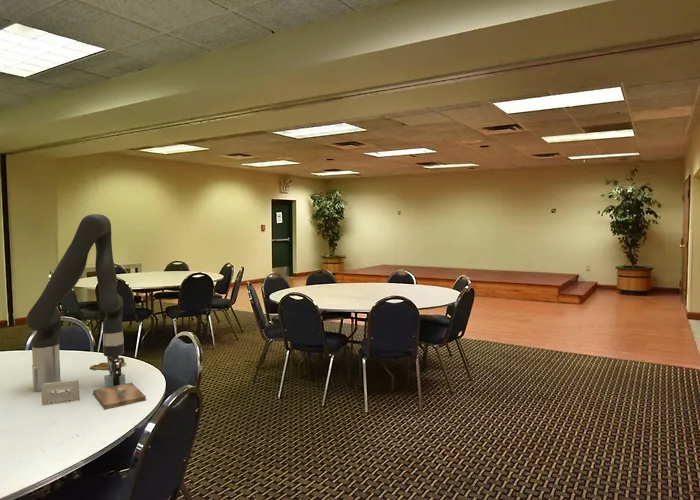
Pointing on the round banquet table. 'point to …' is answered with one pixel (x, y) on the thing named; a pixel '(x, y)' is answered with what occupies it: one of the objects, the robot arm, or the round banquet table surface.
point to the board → (114, 399)
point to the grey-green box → (109, 379)
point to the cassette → (60, 397)
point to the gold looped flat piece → (106, 365)
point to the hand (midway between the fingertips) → (115, 384)
